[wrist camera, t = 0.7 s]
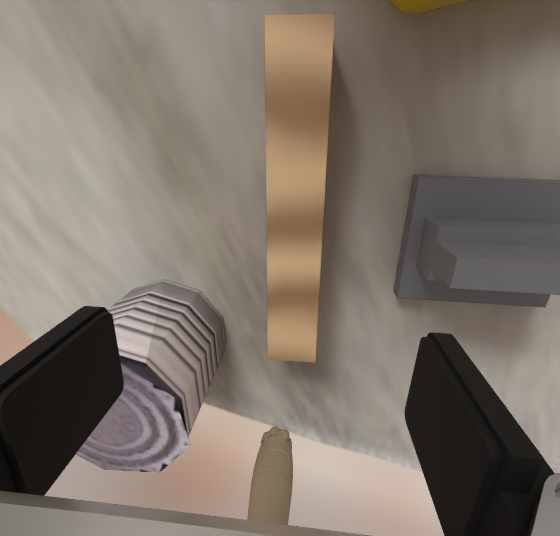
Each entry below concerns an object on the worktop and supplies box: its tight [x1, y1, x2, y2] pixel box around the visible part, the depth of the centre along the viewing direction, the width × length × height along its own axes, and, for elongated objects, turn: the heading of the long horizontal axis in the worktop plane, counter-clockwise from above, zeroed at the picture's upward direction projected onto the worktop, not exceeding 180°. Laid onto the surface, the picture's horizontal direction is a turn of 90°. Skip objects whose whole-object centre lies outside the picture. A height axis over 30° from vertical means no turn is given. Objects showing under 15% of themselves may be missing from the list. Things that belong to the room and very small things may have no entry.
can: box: [76, 279, 226, 472], centre depth 27 cm, size 11×11×12 cm
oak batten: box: [265, 13, 335, 362], centre depth 25 cm, size 24×4×5 cm, turn 179°
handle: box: [247, 427, 293, 525], centre depth 30 cm, size 5×6×15 cm
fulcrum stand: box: [394, 175, 560, 307], centre depth 23 cm, size 10×12×8 cm
